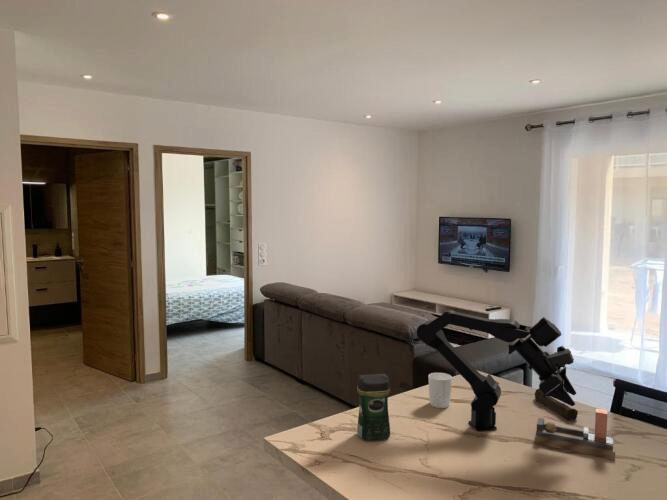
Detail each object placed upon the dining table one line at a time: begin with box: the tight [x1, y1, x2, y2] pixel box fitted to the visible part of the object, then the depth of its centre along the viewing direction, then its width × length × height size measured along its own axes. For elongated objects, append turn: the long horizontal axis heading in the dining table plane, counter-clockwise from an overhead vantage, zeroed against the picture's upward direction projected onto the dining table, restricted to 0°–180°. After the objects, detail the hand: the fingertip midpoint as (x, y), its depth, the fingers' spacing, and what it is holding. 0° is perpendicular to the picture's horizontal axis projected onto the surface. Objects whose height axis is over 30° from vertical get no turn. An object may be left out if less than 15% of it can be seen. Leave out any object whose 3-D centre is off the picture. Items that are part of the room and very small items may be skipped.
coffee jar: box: [356, 373, 391, 442], centre depth 145 cm, size 10×8×19 cm
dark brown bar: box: [534, 388, 579, 422], centre depth 166 cm, size 19×4×5 cm, turn 11°
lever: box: [583, 408, 614, 445], centre depth 138 cm, size 7×4×9 cm, turn 62°
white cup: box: [428, 372, 453, 409], centre depth 170 cm, size 8×8×10 cm
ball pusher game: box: [534, 417, 616, 460], centre depth 141 cm, size 20×9×5 cm, turn 62°
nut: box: [545, 421, 557, 433], centre depth 143 cm, size 3×3×3 cm
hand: (574, 399), depth 140 cm, fingers open, 9 cm apart
